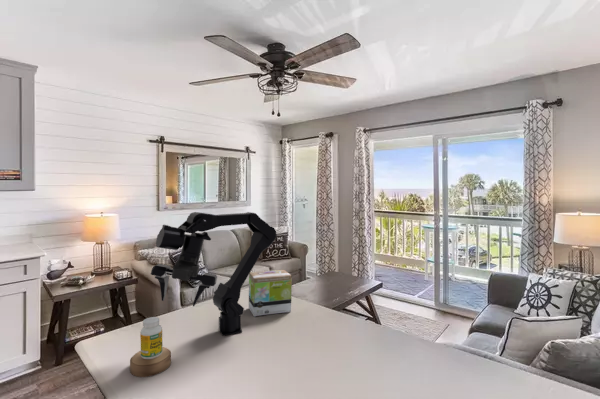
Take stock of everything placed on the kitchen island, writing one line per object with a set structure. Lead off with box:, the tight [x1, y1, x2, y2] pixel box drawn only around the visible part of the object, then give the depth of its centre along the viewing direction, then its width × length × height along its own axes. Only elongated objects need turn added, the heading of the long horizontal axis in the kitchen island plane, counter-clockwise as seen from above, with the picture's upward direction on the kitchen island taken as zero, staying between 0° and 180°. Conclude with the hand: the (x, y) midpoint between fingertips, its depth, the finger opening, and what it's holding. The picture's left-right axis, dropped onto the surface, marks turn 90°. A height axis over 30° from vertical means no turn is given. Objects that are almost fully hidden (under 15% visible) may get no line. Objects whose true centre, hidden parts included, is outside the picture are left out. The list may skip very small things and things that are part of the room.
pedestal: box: [129, 346, 172, 378], centre depth 86 cm, size 10×10×3 cm
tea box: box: [248, 269, 293, 317], centre depth 125 cm, size 15×10×15 cm, turn 111°
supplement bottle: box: [139, 316, 163, 359], centre depth 85 cm, size 5×5×10 cm
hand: (178, 303), depth 96 cm, fingers open, 9 cm apart
